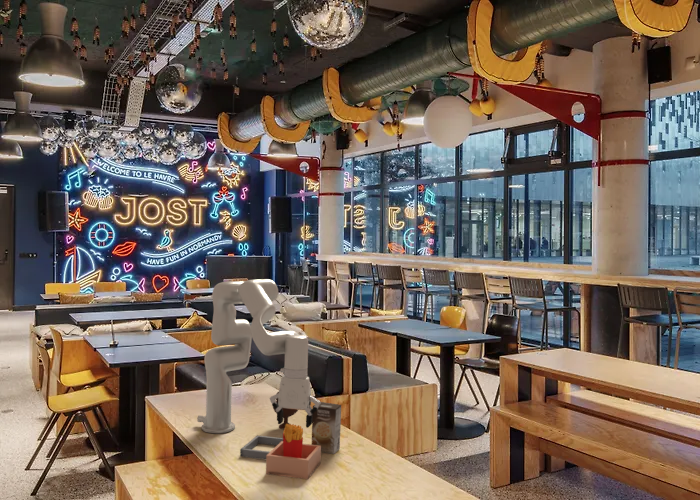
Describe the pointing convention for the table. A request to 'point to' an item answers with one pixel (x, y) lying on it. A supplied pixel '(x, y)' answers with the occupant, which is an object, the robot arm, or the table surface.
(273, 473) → the pink open box
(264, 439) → the gray rectangular frame
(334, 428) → the coffee box
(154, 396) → the table surface
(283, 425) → the ice cream bowl
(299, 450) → the french fries
